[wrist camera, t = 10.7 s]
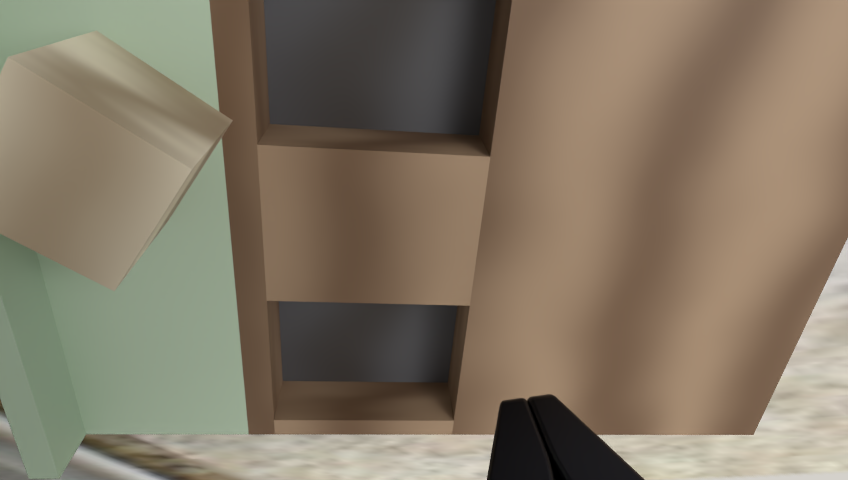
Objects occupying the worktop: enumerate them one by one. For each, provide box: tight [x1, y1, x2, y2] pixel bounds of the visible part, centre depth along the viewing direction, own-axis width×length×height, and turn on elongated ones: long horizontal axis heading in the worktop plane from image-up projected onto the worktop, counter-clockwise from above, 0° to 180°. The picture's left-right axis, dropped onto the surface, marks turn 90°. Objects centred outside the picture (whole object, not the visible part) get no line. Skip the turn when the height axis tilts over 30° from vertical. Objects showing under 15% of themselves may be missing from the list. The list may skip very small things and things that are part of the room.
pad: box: [0, 0, 249, 479], centre depth 18 cm, size 7×18×4 cm, turn 176°
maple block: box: [0, 30, 233, 291], centre depth 14 cm, size 4×4×4 cm
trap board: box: [209, 0, 848, 435], centre depth 20 cm, size 21×18×2 cm
